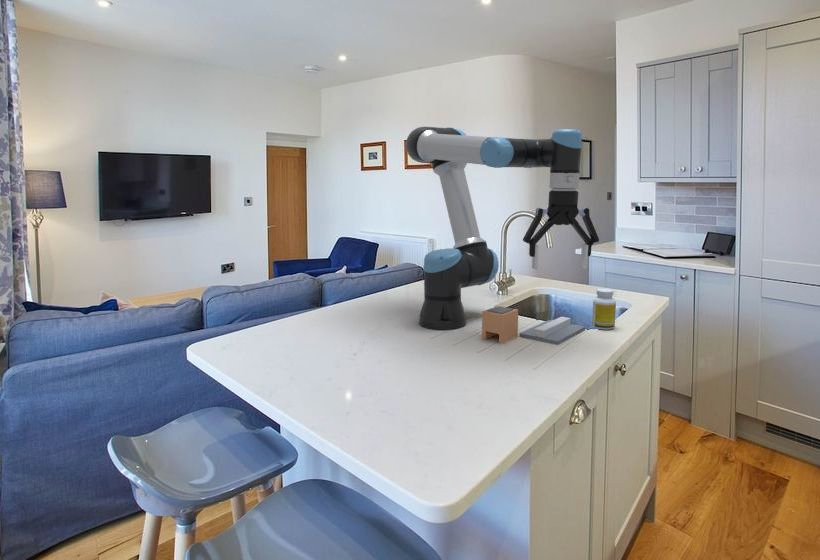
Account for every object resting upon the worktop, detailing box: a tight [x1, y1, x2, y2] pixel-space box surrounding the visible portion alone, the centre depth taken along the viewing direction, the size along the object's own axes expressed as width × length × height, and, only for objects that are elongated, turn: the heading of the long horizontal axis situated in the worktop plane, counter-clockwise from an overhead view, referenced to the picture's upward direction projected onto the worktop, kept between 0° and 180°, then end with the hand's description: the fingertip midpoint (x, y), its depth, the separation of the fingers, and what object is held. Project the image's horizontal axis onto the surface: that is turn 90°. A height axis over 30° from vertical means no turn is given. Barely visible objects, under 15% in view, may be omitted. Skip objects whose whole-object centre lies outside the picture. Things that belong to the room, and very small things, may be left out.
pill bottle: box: [591, 288, 617, 331], centre depth 152 cm, size 6×6×12 cm
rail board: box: [518, 316, 586, 346], centre depth 148 cm, size 12×18×3 cm, turn 138°
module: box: [481, 305, 519, 344], centre depth 145 cm, size 7×8×8 cm
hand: (559, 268), depth 138 cm, fingers open, 13 cm apart
